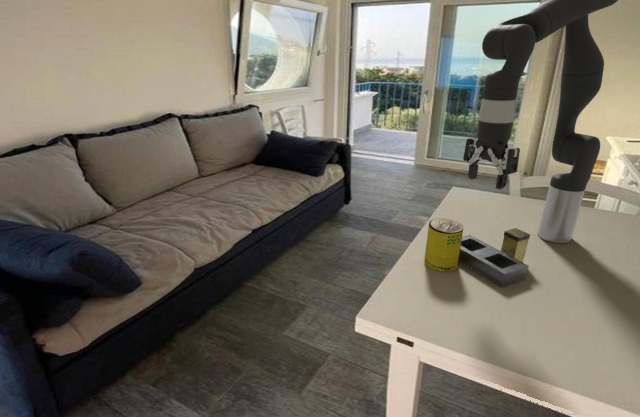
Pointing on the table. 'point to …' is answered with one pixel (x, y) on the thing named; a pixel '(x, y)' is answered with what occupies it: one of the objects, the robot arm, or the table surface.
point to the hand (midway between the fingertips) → (485, 183)
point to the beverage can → (443, 244)
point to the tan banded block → (515, 243)
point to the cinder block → (491, 262)
